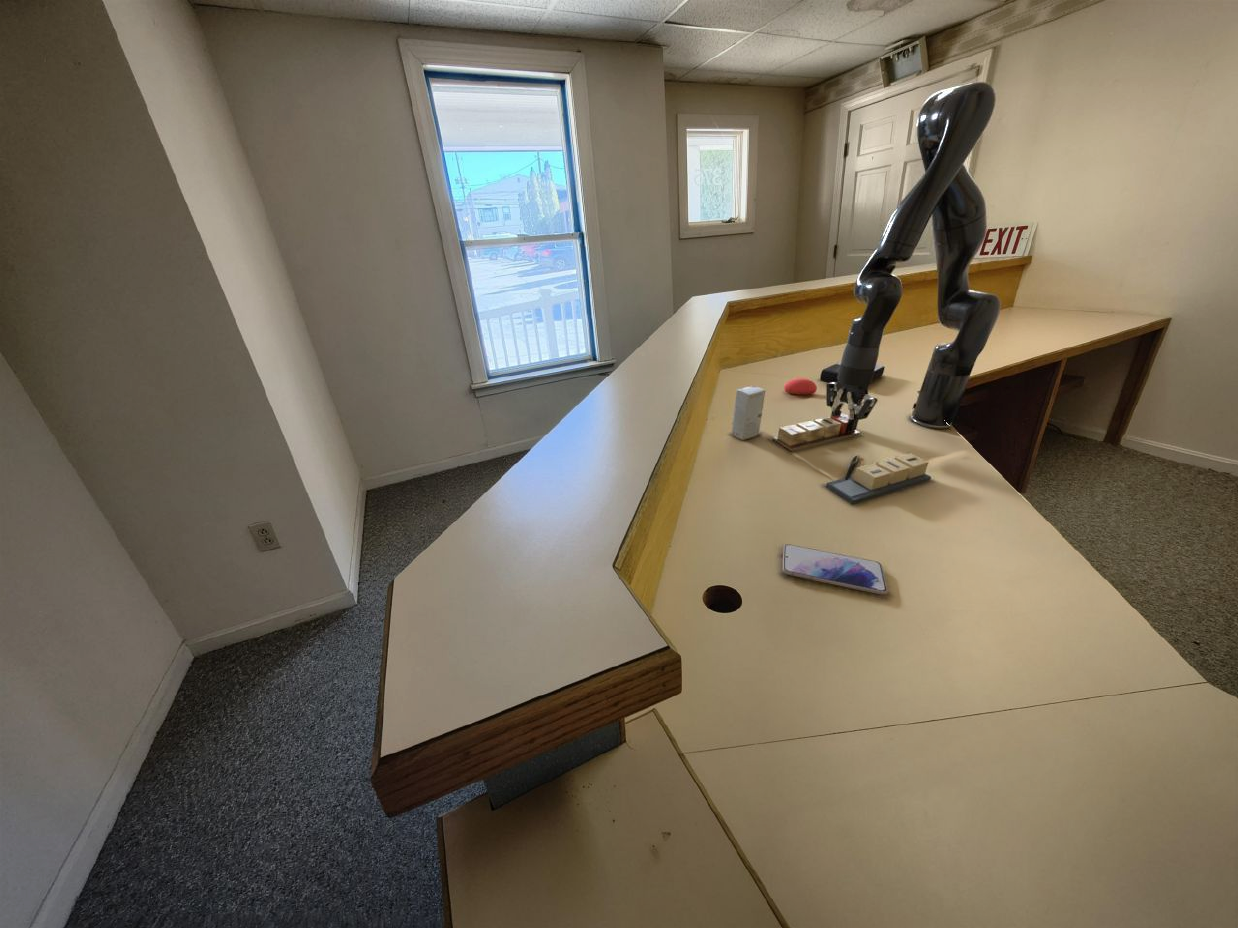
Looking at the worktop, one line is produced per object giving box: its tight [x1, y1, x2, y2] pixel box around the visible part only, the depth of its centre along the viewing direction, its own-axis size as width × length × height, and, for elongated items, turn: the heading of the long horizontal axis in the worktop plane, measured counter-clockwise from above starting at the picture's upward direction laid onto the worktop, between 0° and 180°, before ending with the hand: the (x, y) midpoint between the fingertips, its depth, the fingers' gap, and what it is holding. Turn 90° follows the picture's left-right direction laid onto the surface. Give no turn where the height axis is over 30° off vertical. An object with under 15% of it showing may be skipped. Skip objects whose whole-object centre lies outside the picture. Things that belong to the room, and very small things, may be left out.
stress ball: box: [783, 377, 818, 396], centre depth 140 cm, size 5×9×6 cm
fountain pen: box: [844, 454, 860, 480], centre depth 99 cm, size 14×1×2 cm, turn 145°
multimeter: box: [819, 361, 886, 383], centre depth 152 cm, size 13×19×5 cm
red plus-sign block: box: [830, 413, 850, 434], centre depth 116 cm, size 4×4×3 cm
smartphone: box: [782, 543, 888, 596], centre depth 72 cm, size 7×1×15 cm
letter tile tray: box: [771, 416, 861, 453], centre depth 113 cm, size 22×7×4 cm, turn 113°
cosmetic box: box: [731, 385, 766, 441], centre depth 113 cm, size 6×4×12 cm
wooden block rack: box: [825, 452, 932, 505], centre depth 94 cm, size 22×7×4 cm, turn 113°
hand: (841, 427), depth 116 cm, fingers closed on red plus-sign block, 4 cm apart
